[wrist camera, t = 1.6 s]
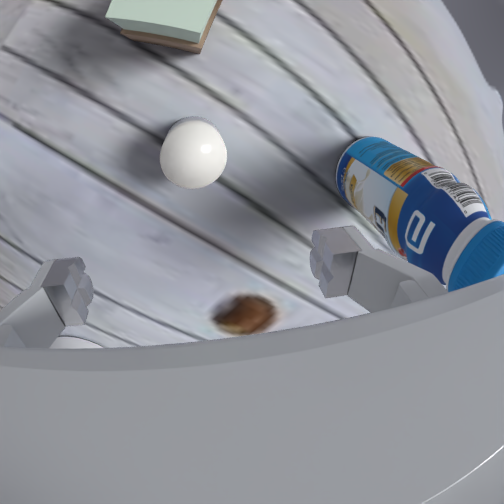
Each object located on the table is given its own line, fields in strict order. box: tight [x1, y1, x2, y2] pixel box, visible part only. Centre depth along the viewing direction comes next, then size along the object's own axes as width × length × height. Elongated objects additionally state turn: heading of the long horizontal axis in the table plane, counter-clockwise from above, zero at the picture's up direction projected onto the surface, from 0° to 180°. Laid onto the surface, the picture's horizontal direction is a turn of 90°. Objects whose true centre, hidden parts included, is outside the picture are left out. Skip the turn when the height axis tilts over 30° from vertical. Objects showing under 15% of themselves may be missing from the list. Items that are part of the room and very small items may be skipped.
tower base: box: [121, 0, 222, 54], centre depth 16 cm, size 6×6×5 cm
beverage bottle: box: [336, 137, 504, 292], centre depth 21 cm, size 8×8×20 cm
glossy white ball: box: [160, 116, 227, 189], centre depth 23 cm, size 5×5×5 cm
